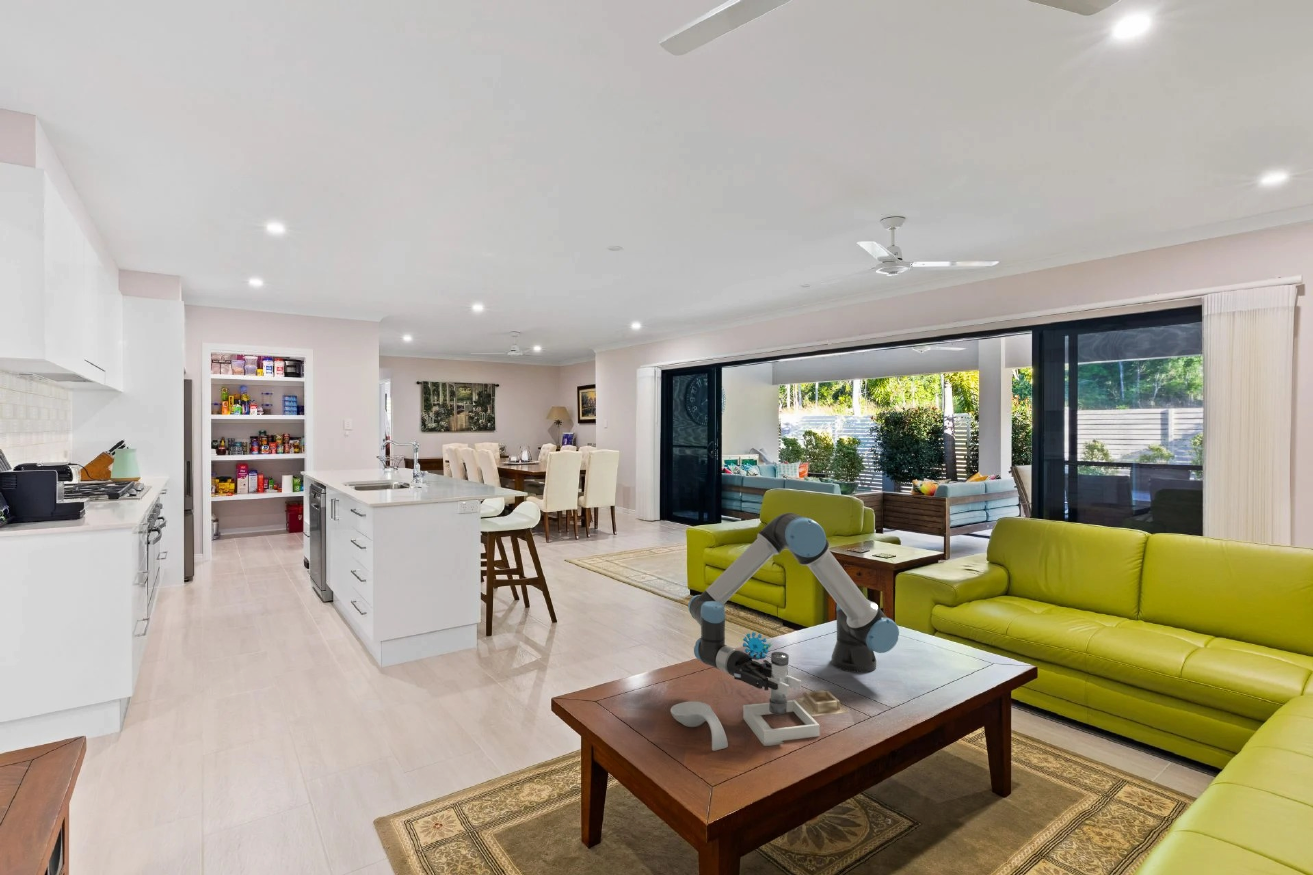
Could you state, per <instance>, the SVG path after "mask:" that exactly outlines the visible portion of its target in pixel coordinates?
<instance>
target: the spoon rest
mask: <svg viewBox="0 0 1313 875" xmlns="http://www.w3.org/2000/svg"><path fill="white" fill-rule="evenodd" d="M670 714H671V716H672V717H673V719H675V721H677V722H679V723H680V724H682V725H683V726H685V727H688V728H695V727H696V728H697V727H699V726H701V725H702V724H704V723H705V722H707V724H708V726H709V729H710V733H711V750H712V751H718V750H723V749H726V748H728V747H729V743H728V738H727V735H726V732H725V730H724V727H723V725H722V723H721V721H720V719H719V718H718V715H716V713H715V712H714V711H713V708H712V706H710V705H709V704H708V703H705V702H703V701H683V702H680V703H677V704H674V705H672V706H671V708H670Z"/></svg>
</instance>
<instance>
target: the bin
mask: <svg viewBox="0 0 1313 875" xmlns="http://www.w3.org/2000/svg"><path fill="white" fill-rule="evenodd" d="M742 706H743V711H742V713H743V720H744V722H745V723H746V724H747V726H748V727H749V728H750V730H751V731H752V732H753V734H754V735H755V736H756V738H757V739H758V740H759V741H760V743H761V744H762V745H763V747H768V746H769V747H771V746H778V745H784V744H785V743H784V741H790V740H800V739H807V738H813V737H814V738H816V737H820V735H821V730H820V728H821V726H820V724H819V722H817V720H816V719H815V718H813V716H811V715H810V714H809V713H808V712H807V711H806V710H805V709H804V708H803V707H802V706H801V705H800V704H799V703H798V702H797V701H796V700H795V699H790V700H787V711H786V713H792V712H794V714H795V715H796V716H797V717H798V718H799V720H801V722H803V723H804V724H803V725H802V724H801V725H796V726H795V725H794V726H787V727H786V726H785V727H778V728H772V726H770V725H769V723H768V722H767V721H766V719H765V718H764V717H763V716H764V715H774V714H773V713H771V712H770V711H769V702H763V703H753V704H752V703H751V704H743V705H742Z"/></svg>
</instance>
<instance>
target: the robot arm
mask: <svg viewBox="0 0 1313 875" xmlns="http://www.w3.org/2000/svg"><path fill="white" fill-rule="evenodd" d="M756 538H757V539H755V540H754V541H753V542H752V543H751V544H750V545H749V546H748V547H747V548H746V549H745V550H744V551H743V552H742V553H741V554H740V556H738V557H737V558H736V559H735V560H734V561H733V562H732V563H731V564H730V565H729V566H728V568H726V569H725V570H724V571H723V572H722V573H721V574H720V575H719V576H718V577H717V578H716V579H715V581H713V582H712V584H710V586H708V587H707V588H706V589H705V590H704V591H703V592H702V593H701V594H697V595H694V596H692V597H691V598H690V600H689V601H688V604H687V605H688V606H687V608H688V611H689V614H690V615H691V617H692V618H693V620H695V621H696V622H697V624H699V626H700V634H701V635H700V637H699V638H698V639H697V640H696V641H695V645H694V647H693V654H694V656H695V658H696V659H697V660H698V661H700V662H702V663H703V664H705V665H708V666H711V667H713V668H715V669H717V670H720V671H722V672H724V673H726V674H727V675H731V676H733V679H734V680H737V681H741V682H743V683H746V684H748V685H750V686H752V687H755V688H756V689H759V690H761V689H763V688H764V691H769V689H770V690H771V689H773V690H775V691H778V692H780V693H782V694H784V695H786V697H788V696H790V688H792V689H793V690H796V691H799V692H801V691H802V680H801V679H798V678H796V677H793V676H791V675H790V674H788V673H789V671H788V669H787V684H785V683H783V682H780V681H778V680H776V679H773V678H771V667H772V663H771V662H769V661H768V660H766V659H764V660H763V661H762V662H758V661H755V660H753V659H752V657H751V656H750V654H748V653H746V652H745V651H744V652H743V651H741V650H739V649H737V648H734V647H731V646H729V645H726V644H725V643H726V637H725V636H726V609H725V607H726V606H725V605H724V604H726V603H727V601H729V600H730V599H731V598H732V597H733V596H734V595H735V594H736V593H737V591H739V590H740V589H741V587H743V586H744V585H745V583H747V582H748V580H750V579H751V578H752V577H753V576H754V575H755V573H757V572H758V571H759V570H760V569H761V568H762V567H764V565H765V564H766V563H767V562H768V561H769V559H771V557H773V556H777V555H780V553H781V552H783V551H784V550H785V549H787V551H789V552H790V553H791V555H792V556H793V557H794V558H795V560H796V561H797V562H798V563H799V565H801V566H807V567H808V568H809V570H810V571H811V572H812V573H813V575H814V577H815V578H817V580H818V581H819V583H820V584H821V585H822V586H823V588H824V589H825V590H826V591H827V593H828V594H829V595H830V597H832V599H833V600H834V602H835V603H836V610H835V611H836V643H835V645H834V648H833V651H832V653H831V664H832V665H833V666H834V667H835V668H837V669H839V670H843V671H845V672H851V673H866V672H872V671H874V670H876V669H877V659H876V656H875V653H878V654H885V653H888V652H890V651H891V650H892V649H894V648H895V647H896V645H897V643H898V641H899V635H900V630H899V627H898V625H897V623H896V622H895V621H894V620H893V619H892V618H889V617H887V616H886V614H884V612H883V610H881V608H880V607H879V606H878V604H877V603H876V602H874V601H871V600H870V599H867V598H866V596H865V595H864V594H863V592H862V591H861V590H860V588H858V586H857V584H856V583H855V582H854V581H853V579H852V578H851V577H850V575H849V574H848V573H847V572H846V571H845V570H844V569H845V568H843V566H842V565H841V564H840V563H839V561H838V560H837V559H836V557H835V556H834V555H833V553H832V552H831V551H830V550H829V549H830V542H829V541H828V539H827V536H826V533H825V530H824V528H823V527H822V526H821V525H820V524H819V523H818V522H817V521H815V520H814V519H812V518H809V517H805V516H802V515H799V514H797V513H794V512H793V513H792V512H785V513H782V514H779V515H777V516H776V517H774V518H773V519H772V520H771V521H769V522H768V523H767V524H766V525H765V526H764V527H762V529H761V530H760V531H759V532H758V533H757V536H756Z"/></svg>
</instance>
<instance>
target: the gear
mask: <svg viewBox="0 0 1313 875" xmlns="http://www.w3.org/2000/svg"><path fill="white" fill-rule="evenodd" d="M756 635H757V633H756V632H752V633H747V634H746V636H744V637H743V639H742V641H743V643H742V647H744V648H745V649H744V653H747V654H748V653H749V652H750V654H749V656H750V657H751V658H753V657H754V655H755V654H756V656H755V659H758V660H759V659H760V658H765V657H766V654H768V653H769V648H770V647H771V646H772V643H771V642H769V643H766V642H767V638H766V637H764V638H762V637H763V635H762V634H761V633H758V635H757V636H756ZM751 636H752V637H751ZM755 636H756V637H755ZM761 638H762V639H761Z"/></svg>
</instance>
